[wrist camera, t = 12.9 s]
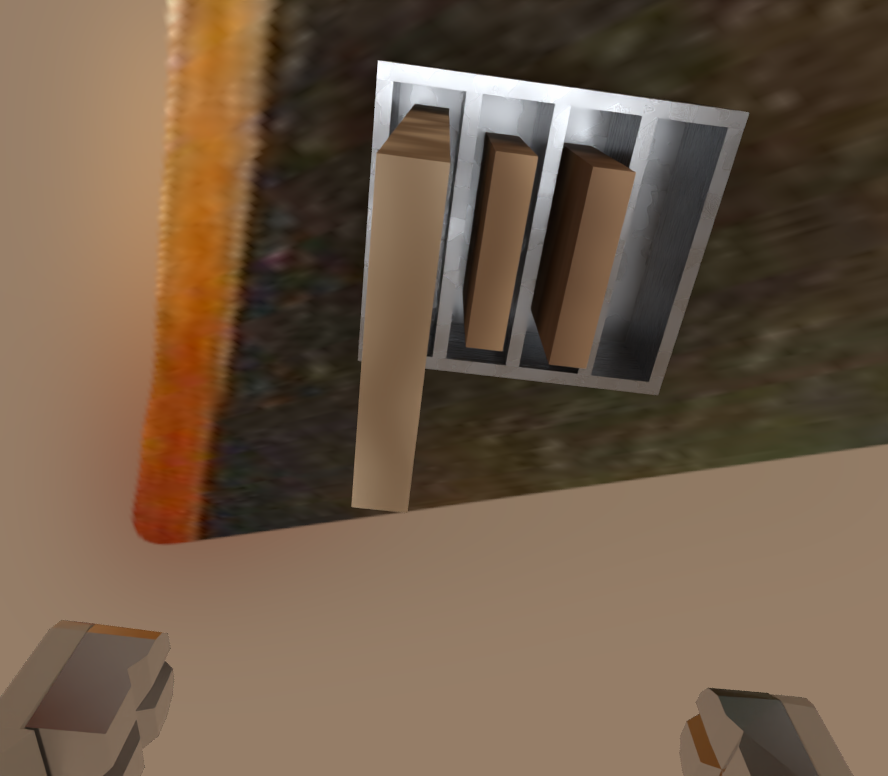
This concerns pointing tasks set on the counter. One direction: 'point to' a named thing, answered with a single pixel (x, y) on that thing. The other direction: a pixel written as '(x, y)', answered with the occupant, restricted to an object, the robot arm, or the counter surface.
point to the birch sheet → (399, 304)
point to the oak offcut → (496, 238)
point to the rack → (545, 130)
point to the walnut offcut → (579, 251)
